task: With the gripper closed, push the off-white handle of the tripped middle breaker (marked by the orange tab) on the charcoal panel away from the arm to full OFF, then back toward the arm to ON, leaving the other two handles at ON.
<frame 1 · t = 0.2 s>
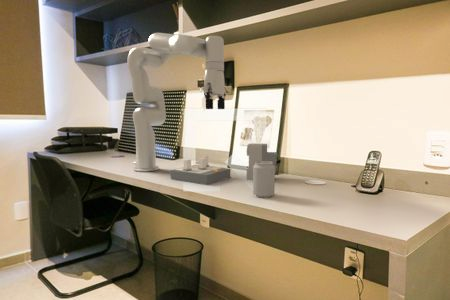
hand: (215, 109, 138), 30 cm above the table, fingers open, 9 cm apart
handle tripped: (202, 163, 143), point 7 cm above the table, slide at 0.0 cm
handle 1: (187, 164, 140), point 7 cm above the table, slide at -3.5 cm
circuit breaker: (263, 178, 144), on the table
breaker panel: (200, 178, 144), on the table
can: (263, 196, 115), on the table
handle 2: (204, 161, 150), point 7 cm above the table, slide at -3.5 cm
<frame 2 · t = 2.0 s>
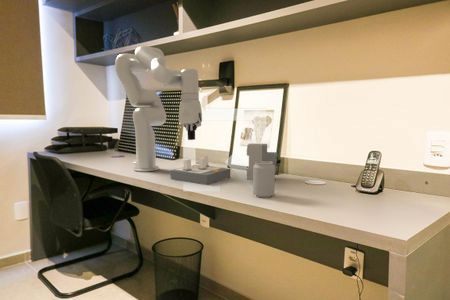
hand: (191, 139, 145), 17 cm above the table, fingers closed
nothing on the table moved.
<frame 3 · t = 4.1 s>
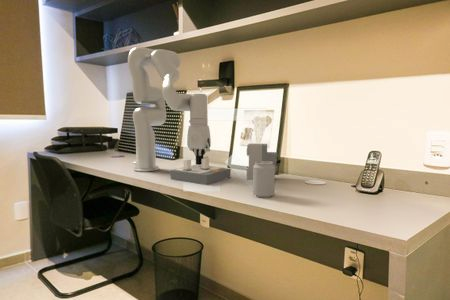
hand: (199, 164, 144), 6 cm above the table, fingers closed
handle tripped: (205, 163, 142), point 7 cm above the table, slide at 1.6 cm, touching gripper
everything else where it was.
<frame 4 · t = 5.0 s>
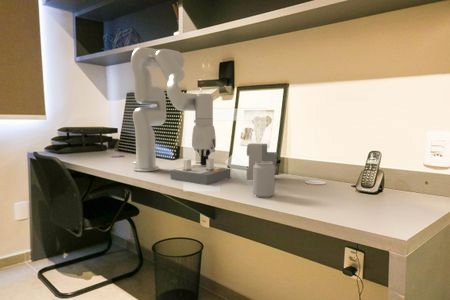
hand: (204, 164, 142), 6 cm above the table, fingers closed
handle tripped: (210, 164, 141), point 7 cm above the table, slide at 4.2 cm, touching gripper
everything else where it was.
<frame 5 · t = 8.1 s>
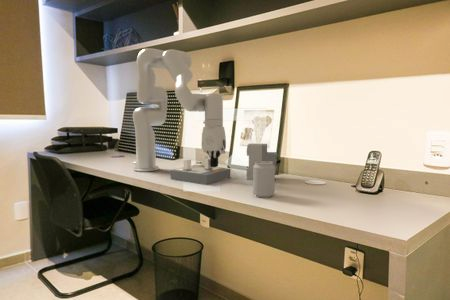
hand: (214, 166, 139), 6 cm above the table, fingers closed
handle tripped: (208, 164, 141), point 7 cm above the table, slide at 3.2 cm, touching gripper
everything else where it was.
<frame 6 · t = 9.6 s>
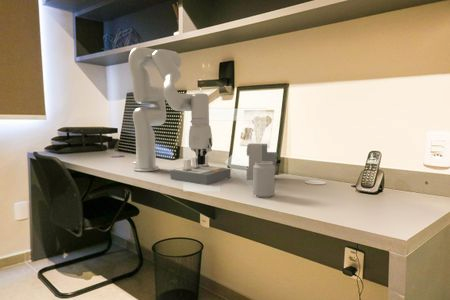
hand: (201, 164, 143), 6 cm above the table, fingers closed
handle tripped: (195, 162, 145), point 7 cm above the table, slide at -3.7 cm, touching gripper
everything else where it was.
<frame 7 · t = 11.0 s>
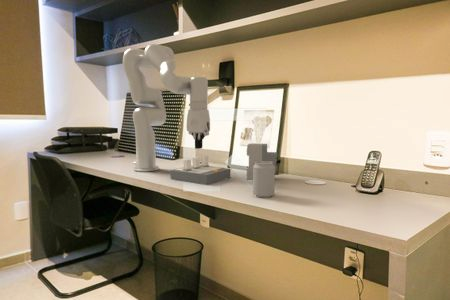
hand: (198, 148, 143), 13 cm above the table, fingers closed
handle tripped: (196, 162, 145), point 7 cm above the table, slide at -3.6 cm
everything else where it was.
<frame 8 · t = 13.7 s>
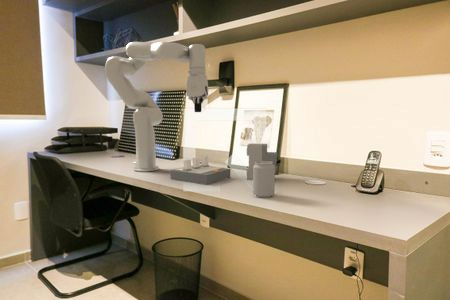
hand: (198, 112, 154), 29 cm above the table, fingers closed
nothing on the table moved.
at the end: handle tripped slide at -3.6 cm; handle 2 slide at -3.5 cm; handle 1 slide at -3.5 cm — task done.
